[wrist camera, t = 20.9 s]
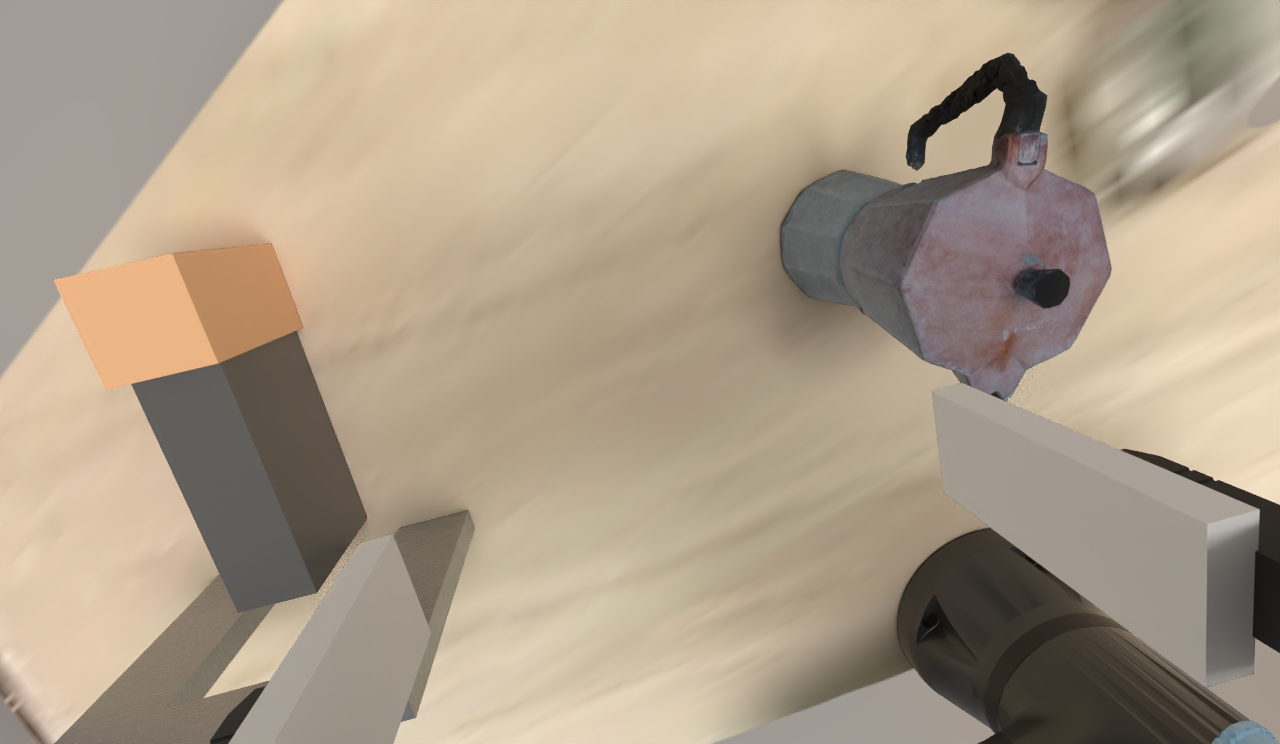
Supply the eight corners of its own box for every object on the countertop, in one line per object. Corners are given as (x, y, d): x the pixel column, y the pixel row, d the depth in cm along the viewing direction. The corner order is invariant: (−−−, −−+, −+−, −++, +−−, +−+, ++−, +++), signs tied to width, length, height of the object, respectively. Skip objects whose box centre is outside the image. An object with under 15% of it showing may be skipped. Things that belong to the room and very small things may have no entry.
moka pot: (779, 353, 44) (941, 461, 25) (760, 125, 40) (935, 42, 21) (906, 332, 45) (1160, 421, 25) (900, 105, 41) (1197, 7, 21)
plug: (374, 516, 44) (318, 601, 34) (297, 535, 43) (219, 626, 34) (271, 243, 39) (171, 253, 29) (183, 263, 38) (53, 280, 29)
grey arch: (474, 528, 45) (415, 717, 28) (227, 592, 44) (14, 827, 27) (468, 510, 44) (405, 691, 28) (219, 574, 44) (-4, 802, 27)
